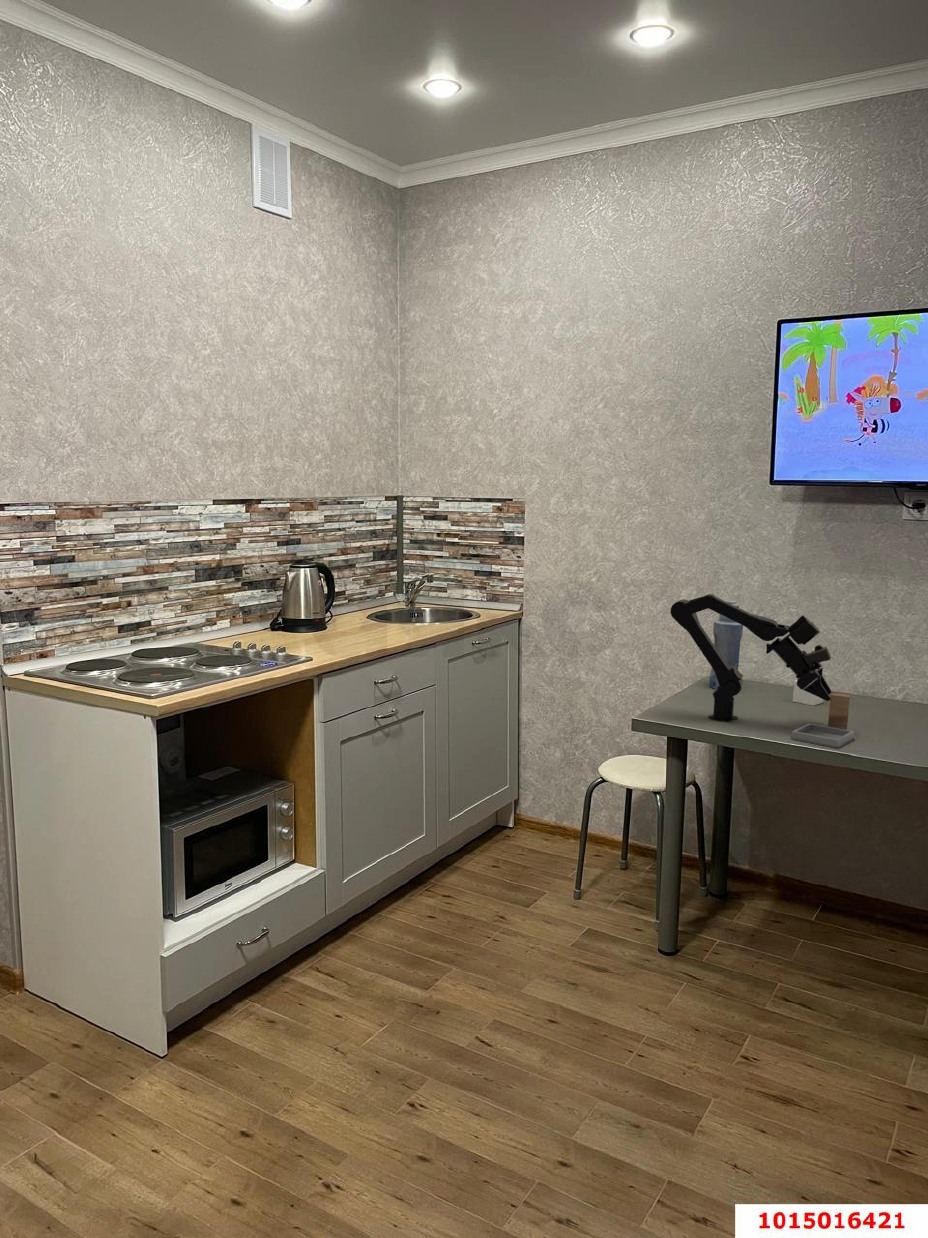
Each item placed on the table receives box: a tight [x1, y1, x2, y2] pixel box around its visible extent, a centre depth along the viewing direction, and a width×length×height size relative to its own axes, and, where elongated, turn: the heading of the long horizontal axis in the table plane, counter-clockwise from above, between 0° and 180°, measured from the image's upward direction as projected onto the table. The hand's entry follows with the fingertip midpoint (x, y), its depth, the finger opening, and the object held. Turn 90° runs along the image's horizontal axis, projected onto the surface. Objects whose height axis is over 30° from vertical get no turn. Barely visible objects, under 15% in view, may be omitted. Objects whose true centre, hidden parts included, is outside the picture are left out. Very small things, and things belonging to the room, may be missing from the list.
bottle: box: [708, 599, 744, 690], centre depth 316 cm, size 10×10×30 cm
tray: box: [791, 722, 856, 750], centre depth 255 cm, size 13×13×2 cm
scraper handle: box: [827, 690, 851, 730], centre depth 263 cm, size 5×5×11 cm
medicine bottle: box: [792, 667, 824, 707], centre depth 298 cm, size 7×7×12 cm
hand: (830, 696), depth 263 cm, fingers open, 9 cm apart
